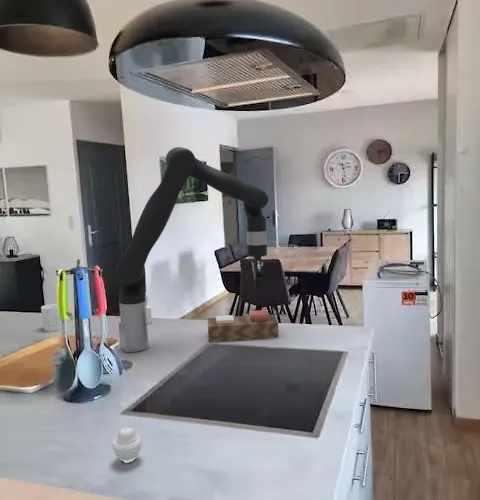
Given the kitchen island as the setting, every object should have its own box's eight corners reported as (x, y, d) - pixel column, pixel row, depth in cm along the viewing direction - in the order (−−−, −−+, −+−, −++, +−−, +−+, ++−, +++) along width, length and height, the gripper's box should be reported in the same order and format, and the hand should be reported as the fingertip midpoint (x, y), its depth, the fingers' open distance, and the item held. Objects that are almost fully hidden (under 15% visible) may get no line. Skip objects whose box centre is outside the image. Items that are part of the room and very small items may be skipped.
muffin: (145, 450, 104) (143, 420, 103) (140, 467, 98) (138, 435, 97) (116, 452, 104) (114, 422, 103) (110, 468, 98) (107, 436, 97)
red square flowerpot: (251, 330, 179) (250, 315, 179) (249, 325, 186) (249, 310, 185) (268, 329, 180) (268, 314, 179) (266, 324, 186) (266, 310, 186)
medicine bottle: (131, 321, 207) (129, 294, 205) (147, 319, 210) (146, 292, 208) (135, 325, 201) (133, 298, 199) (151, 323, 203) (150, 295, 202)
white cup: (47, 333, 194) (45, 309, 192) (40, 329, 199) (38, 306, 198) (66, 329, 199) (64, 305, 198) (58, 325, 205) (56, 302, 203)
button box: (208, 342, 176) (207, 326, 175) (208, 332, 188) (207, 317, 187) (278, 338, 178) (278, 322, 177) (273, 329, 190) (273, 314, 189)
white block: (216, 335, 179) (216, 320, 178) (216, 330, 185) (215, 316, 184) (234, 334, 179) (233, 319, 178) (233, 329, 186) (232, 315, 185)
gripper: (269, 244, 172) (270, 291, 175) (264, 240, 185) (265, 284, 188) (248, 245, 172) (249, 292, 174) (245, 241, 185) (246, 285, 187)
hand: (257, 288), depth 181 cm, fingers closed
